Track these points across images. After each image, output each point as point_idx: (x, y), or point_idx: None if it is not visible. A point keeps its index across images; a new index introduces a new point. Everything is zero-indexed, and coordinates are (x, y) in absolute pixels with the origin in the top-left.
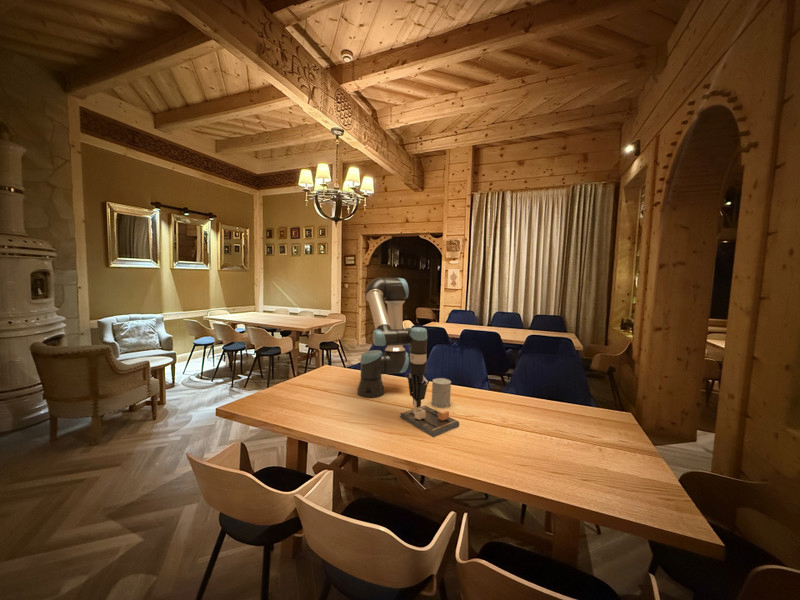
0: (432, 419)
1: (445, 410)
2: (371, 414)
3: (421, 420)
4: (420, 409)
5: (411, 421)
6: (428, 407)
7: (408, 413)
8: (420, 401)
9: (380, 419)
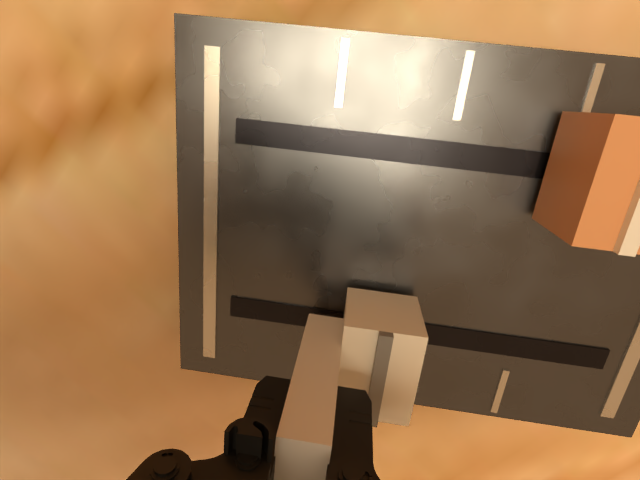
0: (483, 258)
1: None
2: (36, 439)
3: None
4: (359, 355)
5: None
6: (244, 35)
7: (225, 321)
8: (371, 461)
9: (137, 450)
